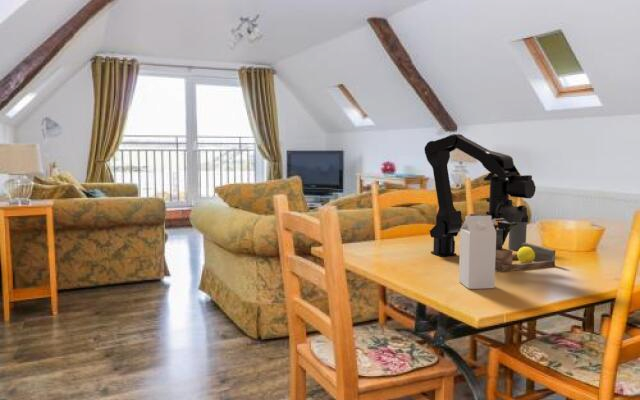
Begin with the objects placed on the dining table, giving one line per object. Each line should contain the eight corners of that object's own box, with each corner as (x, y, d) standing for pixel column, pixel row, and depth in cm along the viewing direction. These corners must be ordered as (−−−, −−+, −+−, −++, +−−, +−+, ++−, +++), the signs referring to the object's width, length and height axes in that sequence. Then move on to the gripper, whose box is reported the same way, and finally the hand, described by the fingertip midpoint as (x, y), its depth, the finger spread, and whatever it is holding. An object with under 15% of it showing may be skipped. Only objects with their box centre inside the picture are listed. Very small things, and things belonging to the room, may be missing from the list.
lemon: (535, 267, 158) (536, 251, 157) (517, 266, 160) (518, 250, 158) (533, 259, 165) (534, 243, 163) (515, 258, 166) (516, 243, 165)
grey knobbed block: (501, 268, 153) (502, 232, 152) (482, 262, 161) (483, 227, 160) (511, 267, 154) (513, 231, 153) (492, 261, 163) (493, 227, 161)
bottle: (525, 248, 185) (526, 207, 183) (526, 251, 179) (527, 209, 177) (508, 247, 187) (509, 207, 185) (508, 250, 181) (510, 208, 179)
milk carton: (458, 282, 139) (460, 214, 137) (483, 281, 140) (485, 214, 138) (468, 289, 132) (470, 218, 130) (494, 288, 133) (497, 217, 131)
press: (500, 271, 150) (500, 255, 150) (472, 262, 162) (473, 247, 162) (554, 265, 158) (555, 250, 157) (524, 257, 170) (525, 242, 169)
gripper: (491, 199, 145) (489, 252, 146) (542, 197, 151) (540, 248, 153) (467, 195, 155) (466, 245, 157) (516, 193, 161) (514, 241, 163)
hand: (497, 245), depth 157 cm, fingers closed on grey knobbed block, 3 cm apart
